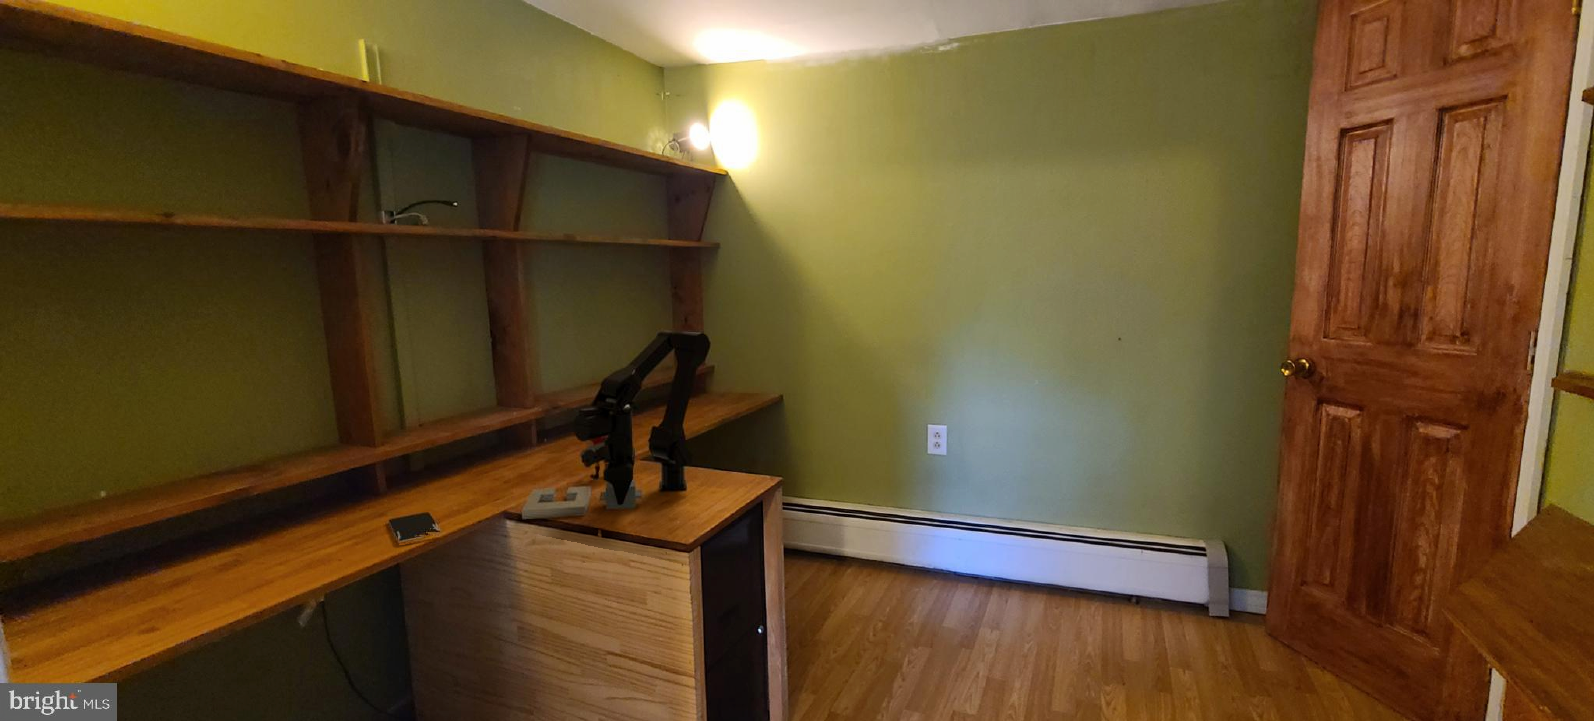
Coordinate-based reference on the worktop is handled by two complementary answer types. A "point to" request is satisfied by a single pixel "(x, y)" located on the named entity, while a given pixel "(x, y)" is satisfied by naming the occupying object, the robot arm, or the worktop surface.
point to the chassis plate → (556, 503)
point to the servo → (629, 500)
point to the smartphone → (413, 526)
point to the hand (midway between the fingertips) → (621, 498)
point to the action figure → (592, 443)
